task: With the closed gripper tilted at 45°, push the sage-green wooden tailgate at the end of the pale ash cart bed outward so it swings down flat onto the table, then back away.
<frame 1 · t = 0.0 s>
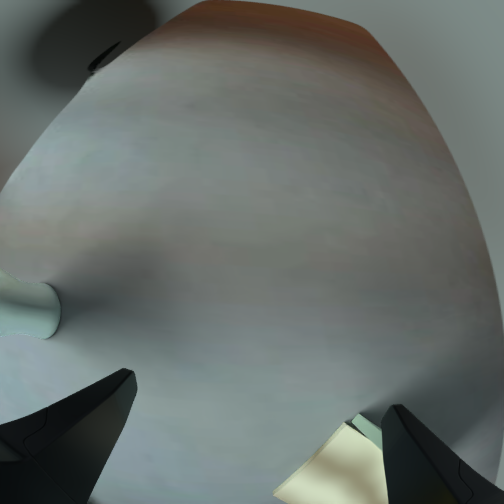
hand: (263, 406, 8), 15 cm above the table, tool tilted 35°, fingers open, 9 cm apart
beer glass: (43, 311, 24), on the table
cart bed: (398, 439, 20), on the table
tailgate: (430, 477, 12), point 8 cm above the table, hinge at 0.0°
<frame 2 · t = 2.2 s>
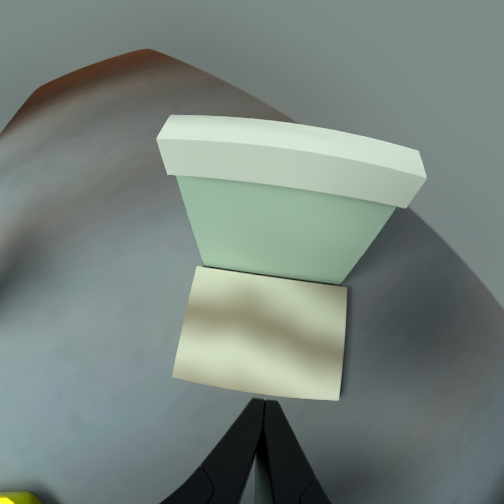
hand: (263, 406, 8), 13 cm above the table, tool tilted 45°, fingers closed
cart bed: (273, 266, 25), on the table
tailgate: (281, 228, 18), point 8 cm above the table, hinge at 0.0°
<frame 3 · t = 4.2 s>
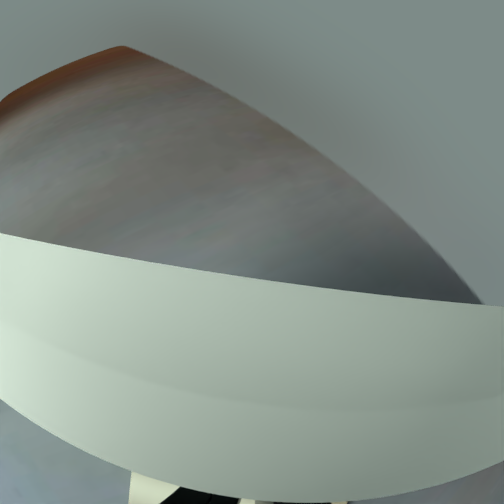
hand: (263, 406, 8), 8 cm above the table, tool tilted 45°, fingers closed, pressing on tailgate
cart bed: (259, 382, 16), on the table
tailgate: (263, 396, 8), point 8 cm above the table, hinge at 1.9°, touching gripper
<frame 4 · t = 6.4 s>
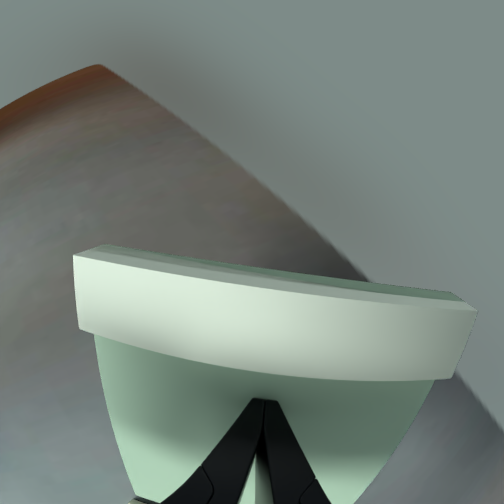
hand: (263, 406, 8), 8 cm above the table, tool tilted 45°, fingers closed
tailgate: (250, 455, 9), point 6 cm above the table, hinge at 51.2°
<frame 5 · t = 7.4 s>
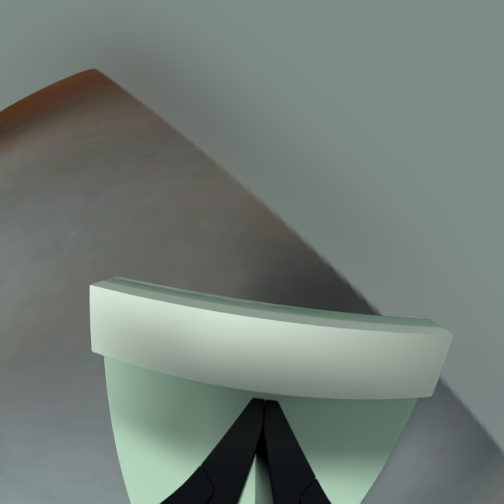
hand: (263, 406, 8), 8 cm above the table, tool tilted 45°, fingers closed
tailgate: (247, 472, 9), point 5 cm above the table, hinge at 58.2°
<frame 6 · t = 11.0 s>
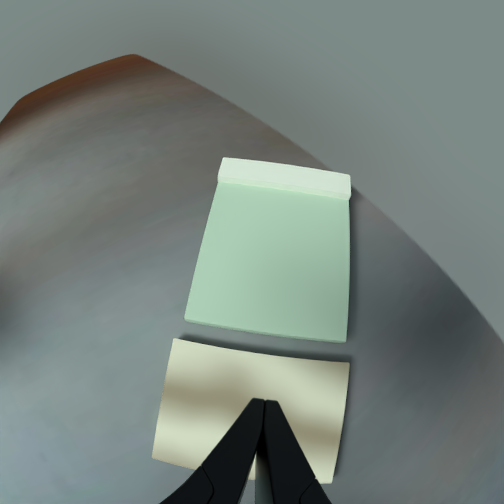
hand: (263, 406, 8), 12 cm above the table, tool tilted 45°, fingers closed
cart bed: (264, 337, 21), on the table
tailgate: (278, 240, 23), point 1 cm above the table, hinge at 88.1°
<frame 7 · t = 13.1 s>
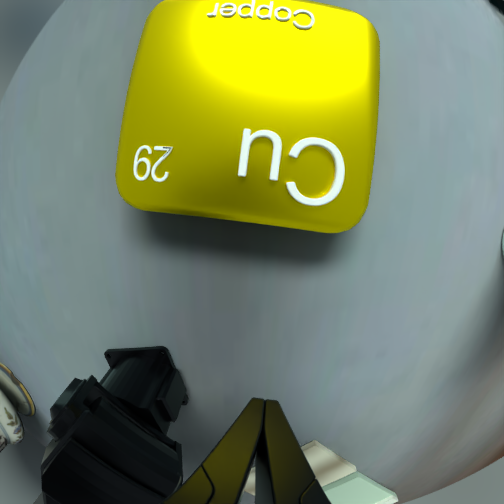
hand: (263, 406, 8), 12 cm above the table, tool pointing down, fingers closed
apothecary jar: (12, 387, 26), on the table
element tile: (252, 108, 18), on the table
cart bed: (318, 488, 27), on the table
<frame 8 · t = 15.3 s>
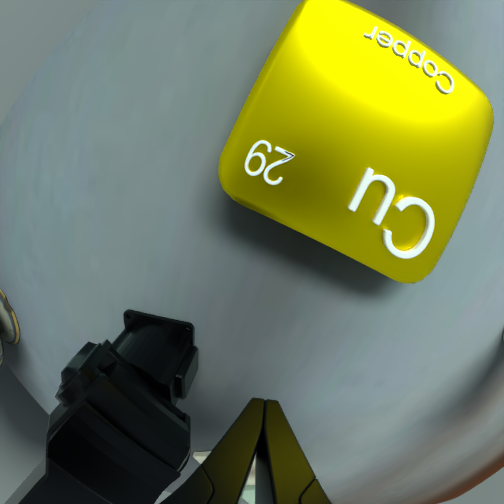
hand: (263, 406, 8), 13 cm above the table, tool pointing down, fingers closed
apothecary jar: (0, 311, 27), on the table
element tile: (361, 136, 18), on the table
tailgate: (288, 503, 31), point 1 cm above the table, hinge at 88.1°
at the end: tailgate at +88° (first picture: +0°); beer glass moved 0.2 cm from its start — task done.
